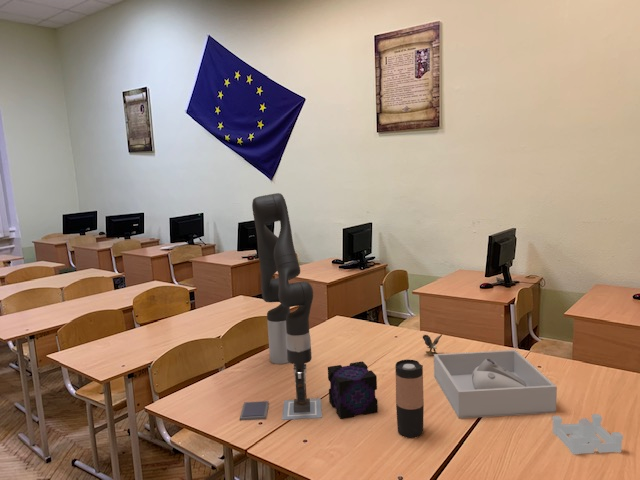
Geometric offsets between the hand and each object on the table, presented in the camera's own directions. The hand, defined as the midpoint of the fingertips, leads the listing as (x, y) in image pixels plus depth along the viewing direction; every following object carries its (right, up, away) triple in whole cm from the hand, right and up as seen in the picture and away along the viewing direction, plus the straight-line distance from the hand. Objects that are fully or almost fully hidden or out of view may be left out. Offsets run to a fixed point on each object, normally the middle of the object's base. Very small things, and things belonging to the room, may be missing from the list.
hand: (301, 394), depth 154 cm
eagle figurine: (+50, +3, +40) cm, 64 cm away
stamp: (0, -4, +1) cm, 5 cm away
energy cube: (+16, -4, +1) cm, 17 cm away
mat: (0, -5, +1) cm, 5 cm away
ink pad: (-15, -6, +1) cm, 16 cm away
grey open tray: (+61, -1, +5) cm, 61 cm away
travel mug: (+32, -6, -15) cm, 35 cm away
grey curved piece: (+63, -1, +5) cm, 63 cm away
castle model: (+76, -6, -25) cm, 80 cm away
